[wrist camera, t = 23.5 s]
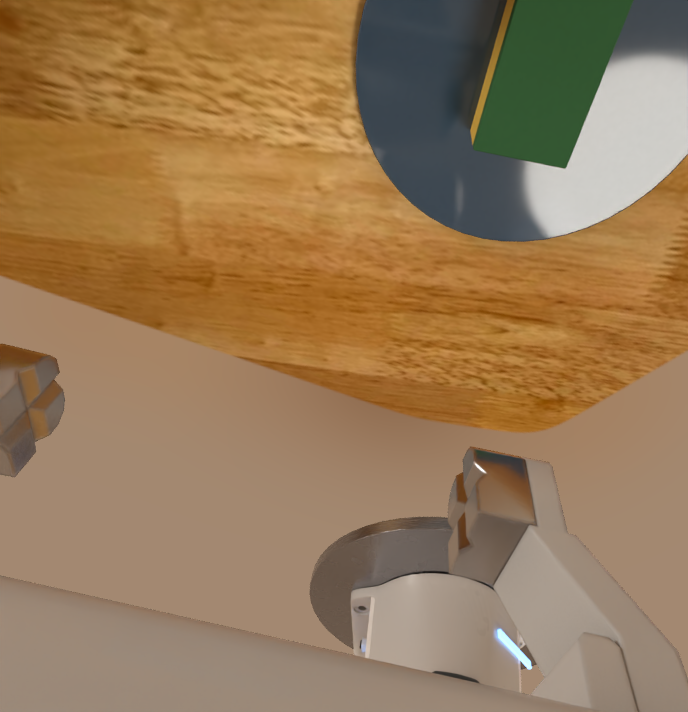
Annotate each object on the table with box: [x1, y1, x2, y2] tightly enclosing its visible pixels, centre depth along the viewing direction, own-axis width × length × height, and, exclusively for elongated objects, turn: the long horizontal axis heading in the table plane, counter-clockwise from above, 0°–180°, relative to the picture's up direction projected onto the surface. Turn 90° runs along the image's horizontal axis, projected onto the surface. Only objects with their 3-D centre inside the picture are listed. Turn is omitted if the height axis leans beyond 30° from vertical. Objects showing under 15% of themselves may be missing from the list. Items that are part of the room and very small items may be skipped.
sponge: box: [470, 0, 633, 169], centre depth 26 cm, size 7×4×4 cm, turn 171°
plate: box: [356, 0, 688, 242], centre depth 27 cm, size 18×18×1 cm
